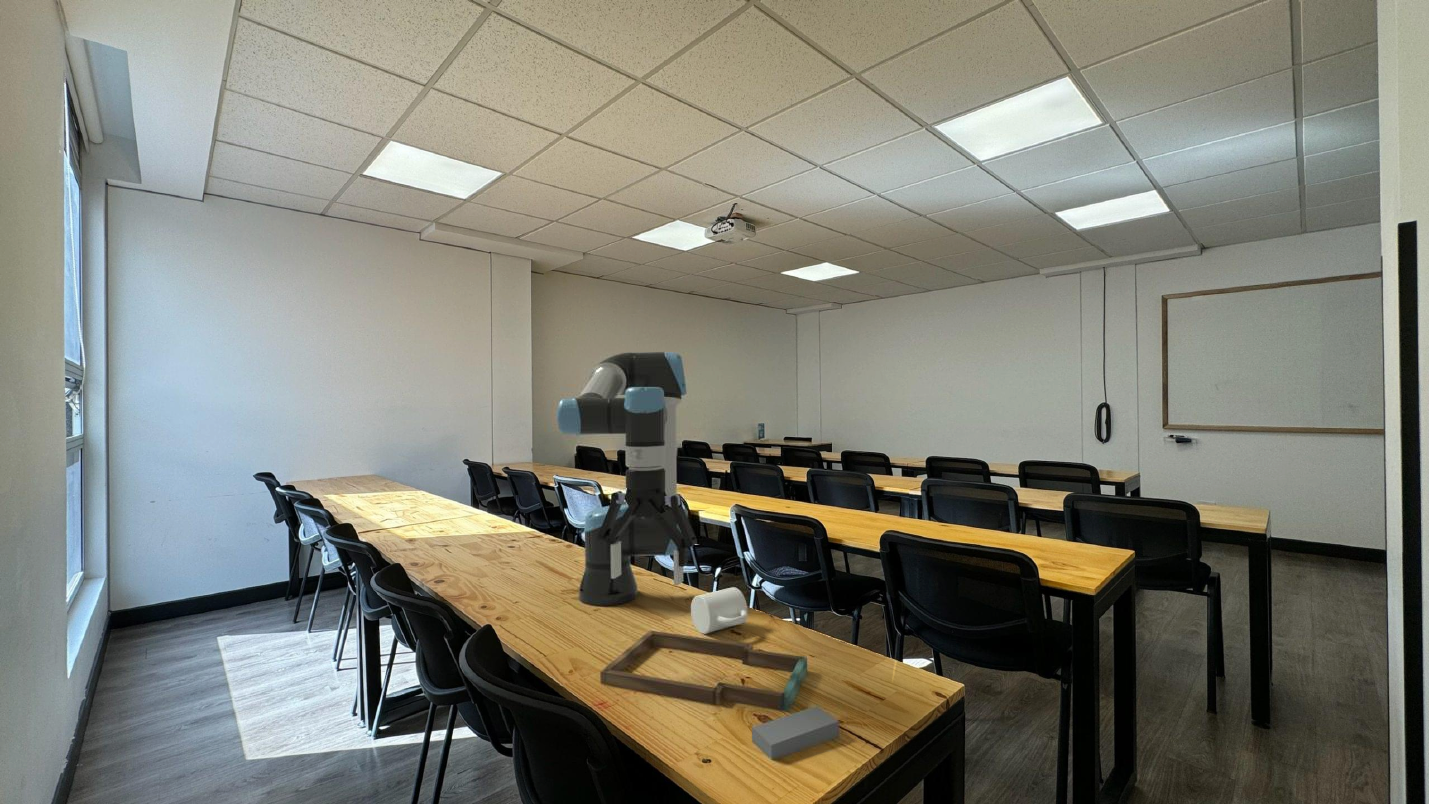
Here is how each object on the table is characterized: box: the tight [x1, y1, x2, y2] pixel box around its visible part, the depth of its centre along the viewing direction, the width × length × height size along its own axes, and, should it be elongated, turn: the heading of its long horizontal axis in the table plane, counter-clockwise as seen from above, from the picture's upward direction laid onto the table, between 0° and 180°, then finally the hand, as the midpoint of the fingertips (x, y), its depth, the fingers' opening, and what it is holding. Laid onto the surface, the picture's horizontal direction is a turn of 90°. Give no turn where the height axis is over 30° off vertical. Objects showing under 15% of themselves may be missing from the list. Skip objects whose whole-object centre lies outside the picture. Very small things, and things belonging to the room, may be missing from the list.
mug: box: [690, 586, 749, 635], centre depth 126 cm, size 12×10×8 cm
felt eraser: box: [751, 705, 840, 761], centre depth 84 cm, size 12×5×3 cm, turn 119°
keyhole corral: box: [599, 630, 808, 712], centre depth 105 cm, size 19×33×2 cm, turn 70°
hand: (646, 579), depth 110 cm, fingers open, 12 cm apart
